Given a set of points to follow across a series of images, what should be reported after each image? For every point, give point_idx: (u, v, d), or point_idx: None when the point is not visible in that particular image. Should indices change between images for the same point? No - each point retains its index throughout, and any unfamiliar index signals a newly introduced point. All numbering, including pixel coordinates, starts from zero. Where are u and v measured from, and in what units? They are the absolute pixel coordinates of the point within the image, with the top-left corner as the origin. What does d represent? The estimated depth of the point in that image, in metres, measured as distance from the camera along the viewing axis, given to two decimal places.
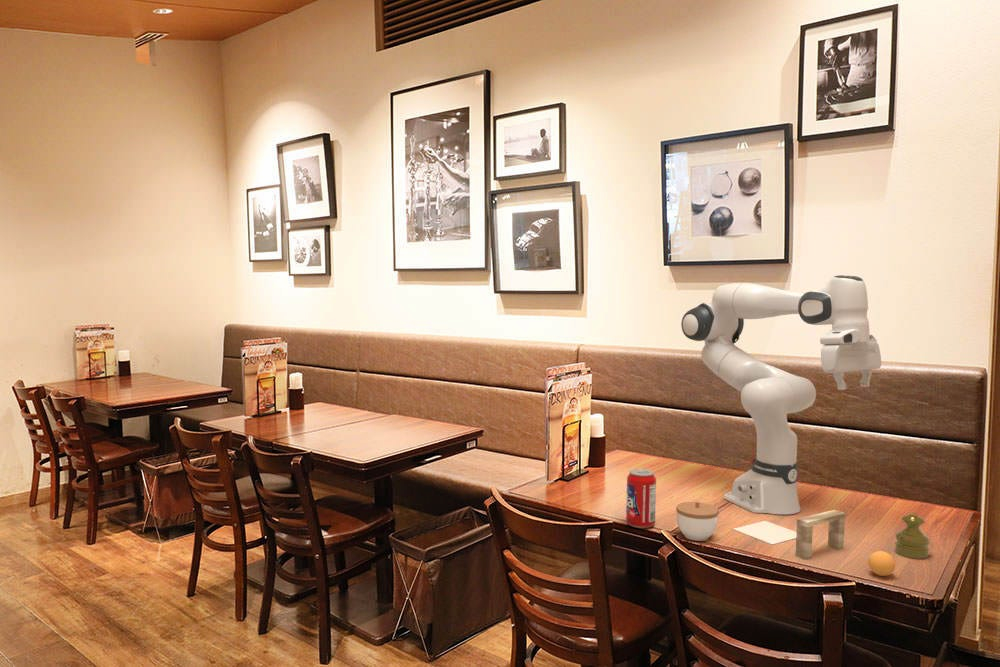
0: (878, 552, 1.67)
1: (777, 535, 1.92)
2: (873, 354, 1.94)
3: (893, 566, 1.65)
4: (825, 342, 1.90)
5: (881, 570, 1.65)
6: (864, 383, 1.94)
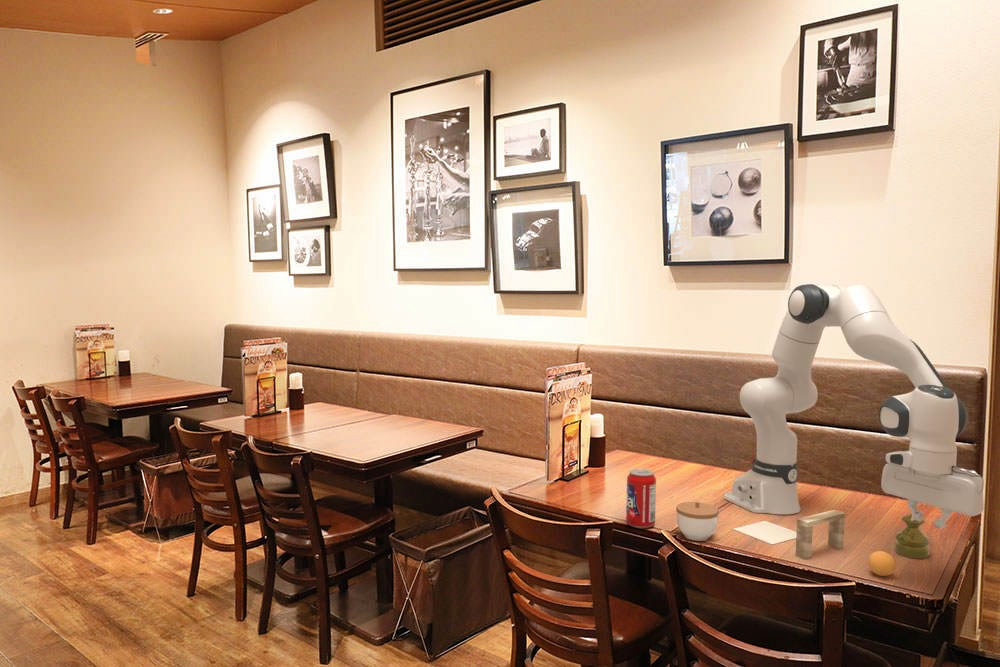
0: (878, 552, 1.67)
1: (777, 535, 1.92)
2: (957, 494, 1.51)
3: (893, 566, 1.65)
4: None
5: (881, 570, 1.65)
6: None
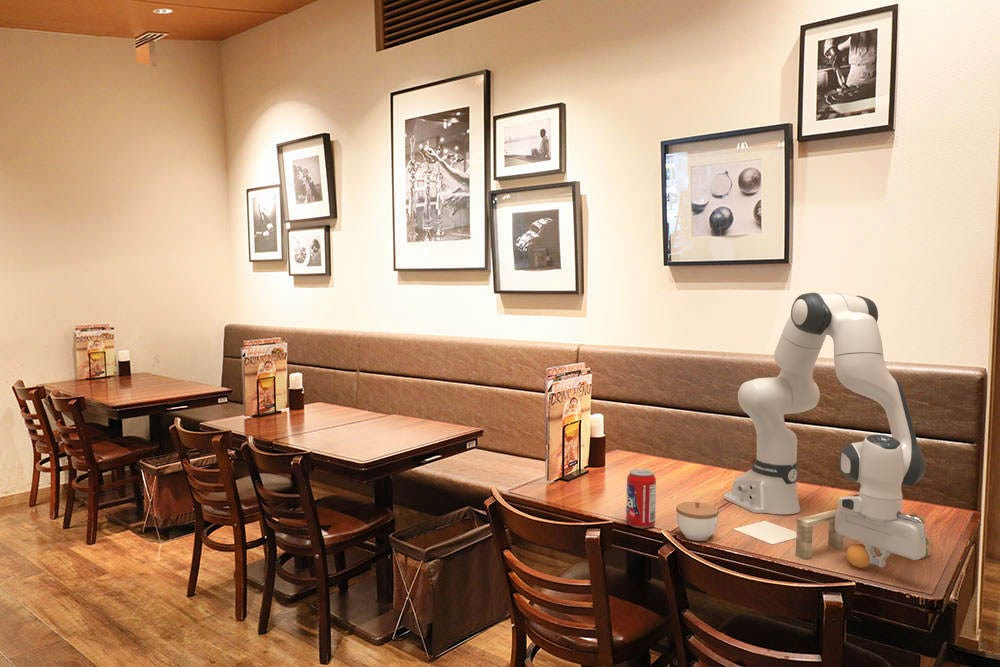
0: None
1: (777, 535, 1.92)
2: (902, 539, 1.62)
3: (860, 544, 1.72)
4: None
5: (857, 553, 1.70)
6: None
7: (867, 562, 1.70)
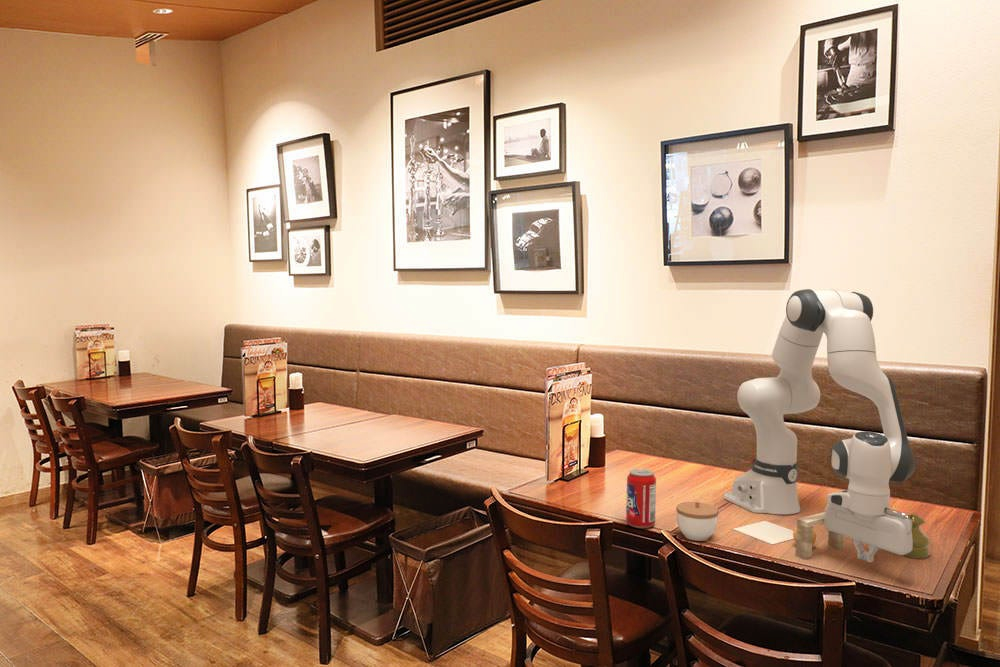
0: (796, 527, 1.86)
1: (777, 535, 1.92)
2: (889, 535, 1.64)
3: None
4: None
5: None
6: None
7: None
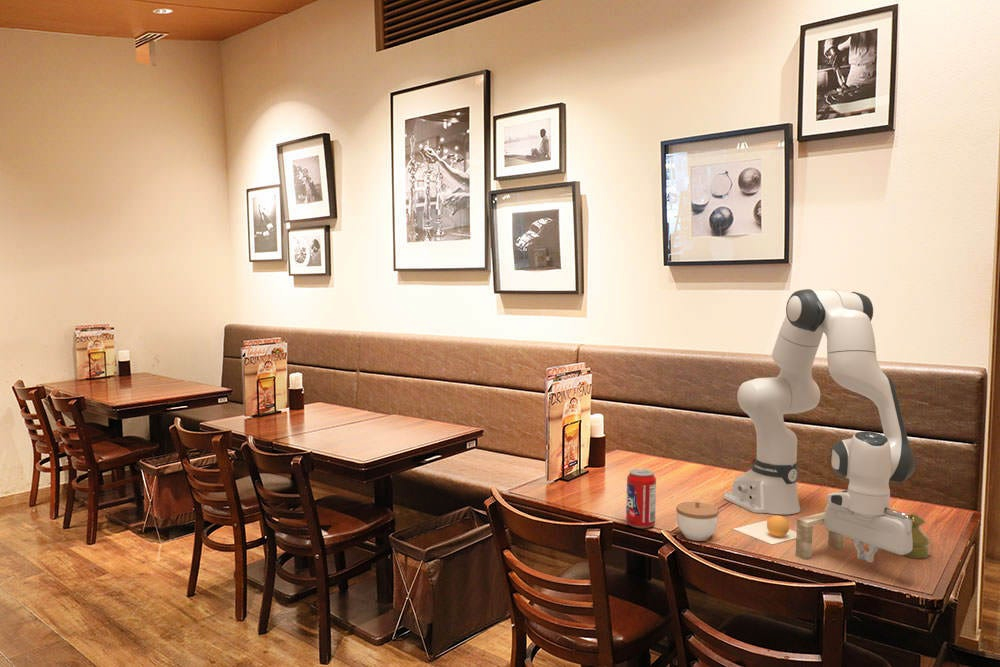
0: (780, 536, 1.90)
1: None
2: (889, 535, 1.64)
3: None
4: None
5: (767, 525, 1.92)
6: None
7: (773, 516, 1.92)
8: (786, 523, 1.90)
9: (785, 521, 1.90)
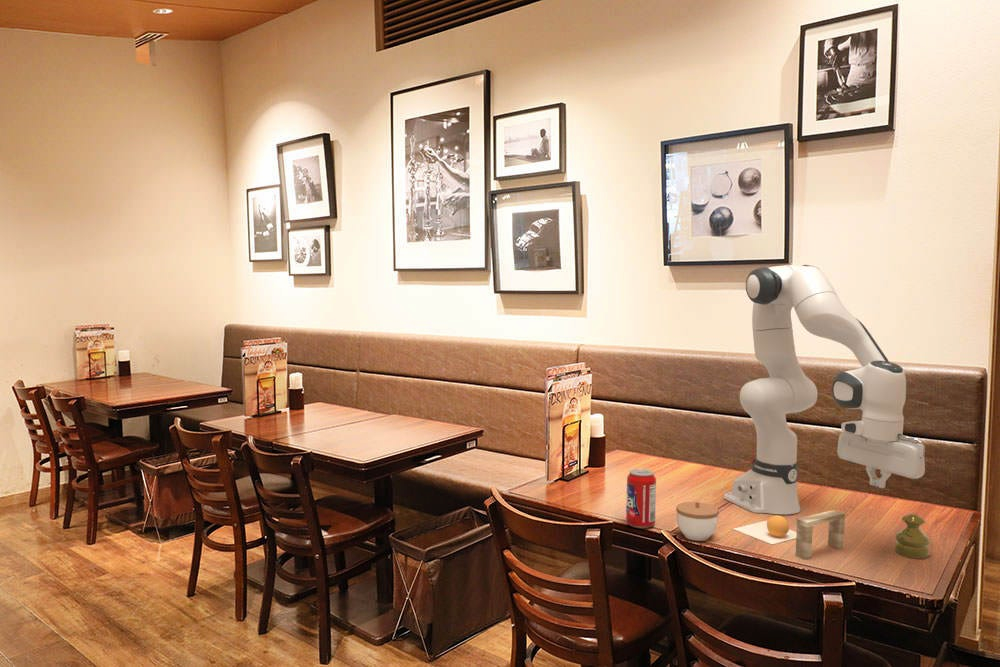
0: (780, 536, 1.90)
1: None
2: (902, 459, 1.67)
3: None
4: None
5: (767, 525, 1.92)
6: None
7: (773, 516, 1.92)
8: (786, 523, 1.90)
9: (785, 521, 1.90)
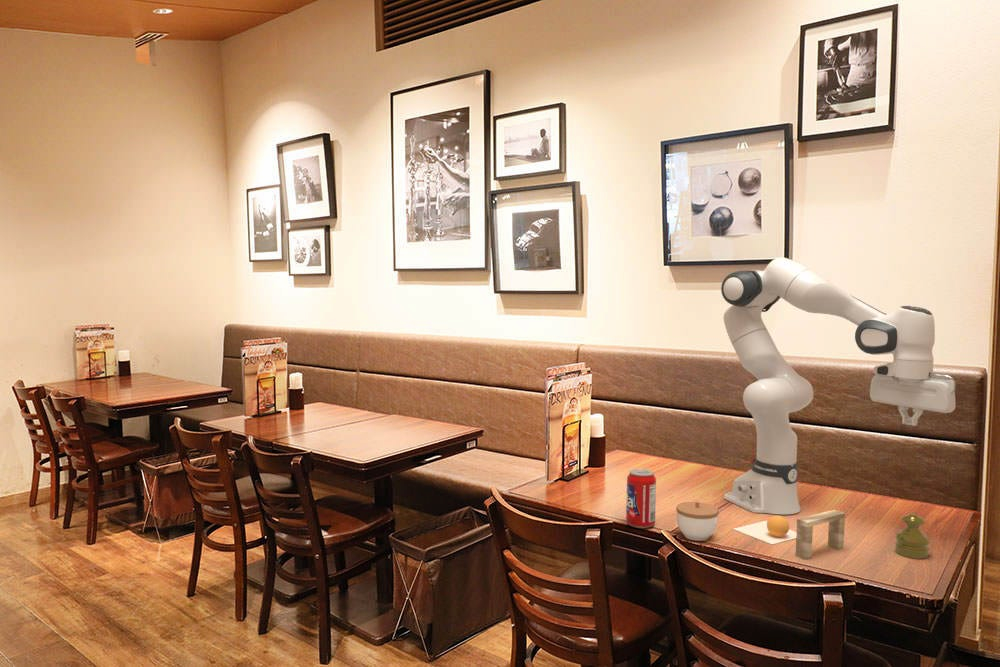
0: (780, 536, 1.90)
1: None
2: (933, 395, 1.78)
3: None
4: None
5: (767, 525, 1.92)
6: None
7: (773, 516, 1.92)
8: (786, 523, 1.90)
9: (785, 521, 1.90)
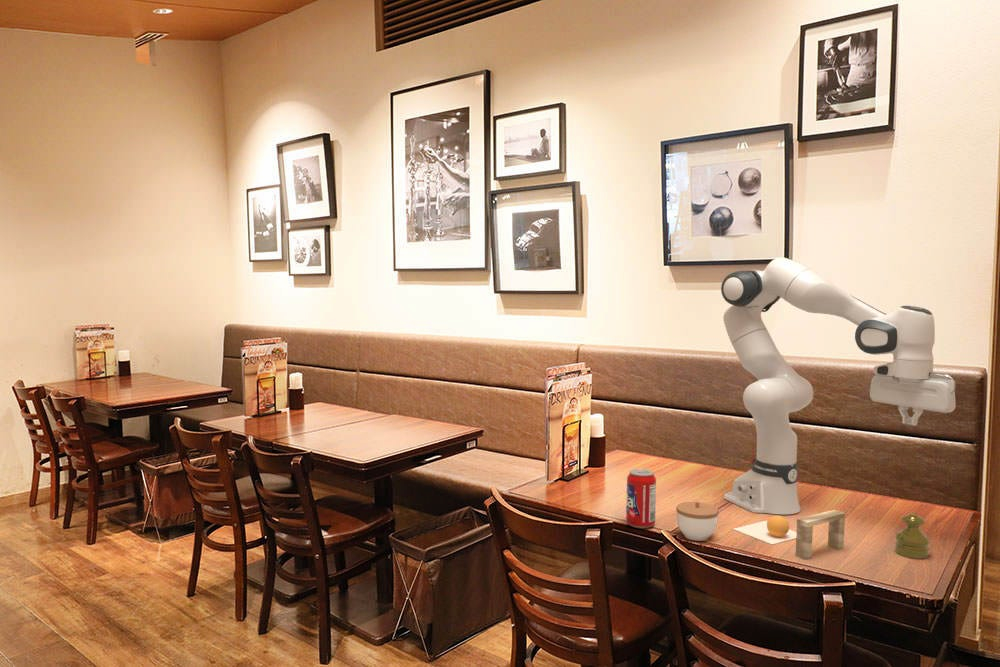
0: (780, 536, 1.90)
1: None
2: (933, 395, 1.78)
3: None
4: None
5: (767, 525, 1.92)
6: None
7: (773, 516, 1.92)
8: (786, 523, 1.90)
9: (785, 521, 1.90)
